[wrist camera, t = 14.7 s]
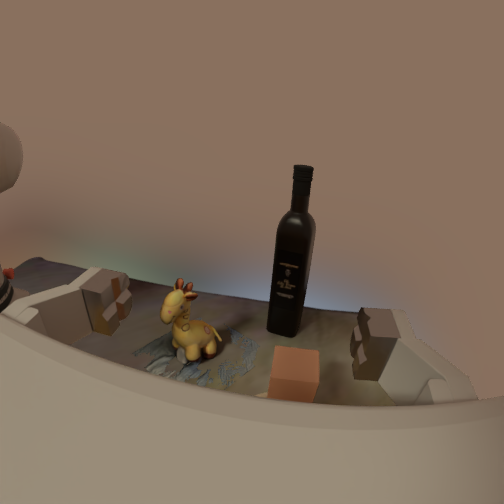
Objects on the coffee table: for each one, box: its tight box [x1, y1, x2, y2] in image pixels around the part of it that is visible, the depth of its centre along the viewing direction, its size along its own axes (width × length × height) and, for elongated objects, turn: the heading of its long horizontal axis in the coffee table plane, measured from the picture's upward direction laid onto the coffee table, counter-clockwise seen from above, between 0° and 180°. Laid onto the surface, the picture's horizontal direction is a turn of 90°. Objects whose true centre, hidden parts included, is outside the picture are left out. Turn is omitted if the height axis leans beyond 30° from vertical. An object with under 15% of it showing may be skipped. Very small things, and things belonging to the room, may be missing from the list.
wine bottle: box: [266, 165, 316, 337], centre depth 49 cm, size 6×6×30 cm
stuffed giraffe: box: [132, 278, 260, 390], centre depth 44 cm, size 16×18×16 cm
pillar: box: [267, 346, 319, 403], centre depth 29 cm, size 4×4×10 cm
